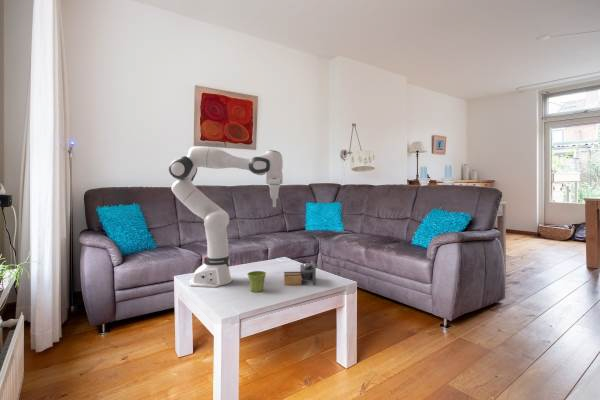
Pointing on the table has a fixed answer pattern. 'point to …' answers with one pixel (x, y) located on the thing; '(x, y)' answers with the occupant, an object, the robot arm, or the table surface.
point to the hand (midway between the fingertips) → (274, 206)
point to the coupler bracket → (308, 271)
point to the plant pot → (256, 280)
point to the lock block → (292, 278)
